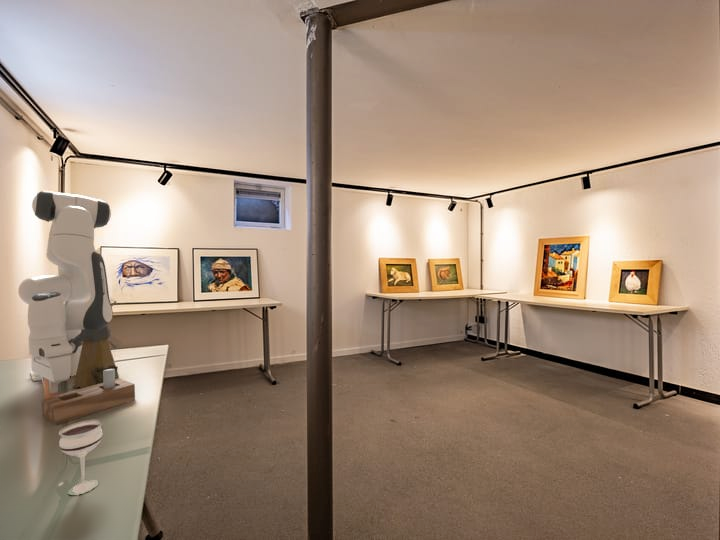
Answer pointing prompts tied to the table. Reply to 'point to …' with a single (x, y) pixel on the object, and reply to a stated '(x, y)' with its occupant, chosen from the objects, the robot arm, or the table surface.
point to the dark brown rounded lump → (101, 374)
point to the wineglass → (81, 445)
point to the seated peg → (109, 378)
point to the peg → (47, 389)
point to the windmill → (93, 354)
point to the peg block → (86, 401)
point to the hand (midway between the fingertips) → (50, 391)
